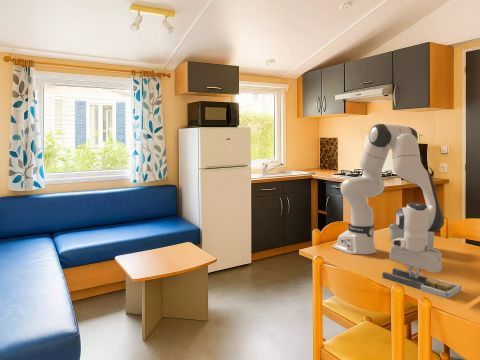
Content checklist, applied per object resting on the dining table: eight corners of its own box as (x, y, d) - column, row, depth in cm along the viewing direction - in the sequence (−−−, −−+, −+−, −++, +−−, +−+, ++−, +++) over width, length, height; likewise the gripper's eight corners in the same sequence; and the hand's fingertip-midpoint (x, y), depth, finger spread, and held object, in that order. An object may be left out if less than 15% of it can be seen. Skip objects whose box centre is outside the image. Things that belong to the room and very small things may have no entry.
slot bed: (381, 279, 162) (381, 272, 162) (395, 274, 168) (395, 267, 168) (421, 292, 149) (421, 284, 148) (434, 285, 155) (434, 278, 154)
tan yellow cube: (424, 287, 150) (425, 279, 150) (429, 285, 153) (431, 277, 152) (434, 292, 147) (435, 283, 147) (439, 289, 150) (441, 281, 149)
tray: (420, 292, 148) (420, 285, 148) (434, 285, 155) (435, 278, 155) (447, 301, 140) (447, 293, 140) (461, 293, 147) (461, 285, 147)
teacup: (412, 242, 216) (412, 228, 215) (392, 242, 216) (392, 228, 215) (402, 236, 230) (402, 222, 229) (383, 236, 230) (383, 223, 229)
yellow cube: (436, 292, 147) (436, 283, 147) (441, 289, 149) (442, 281, 149) (446, 295, 144) (447, 286, 143) (452, 293, 146) (452, 284, 146)
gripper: (445, 248, 147) (443, 283, 149) (396, 236, 164) (395, 268, 166) (437, 251, 144) (435, 287, 146) (388, 239, 160) (386, 271, 162)
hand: (413, 277), depth 156 cm, fingers closed
